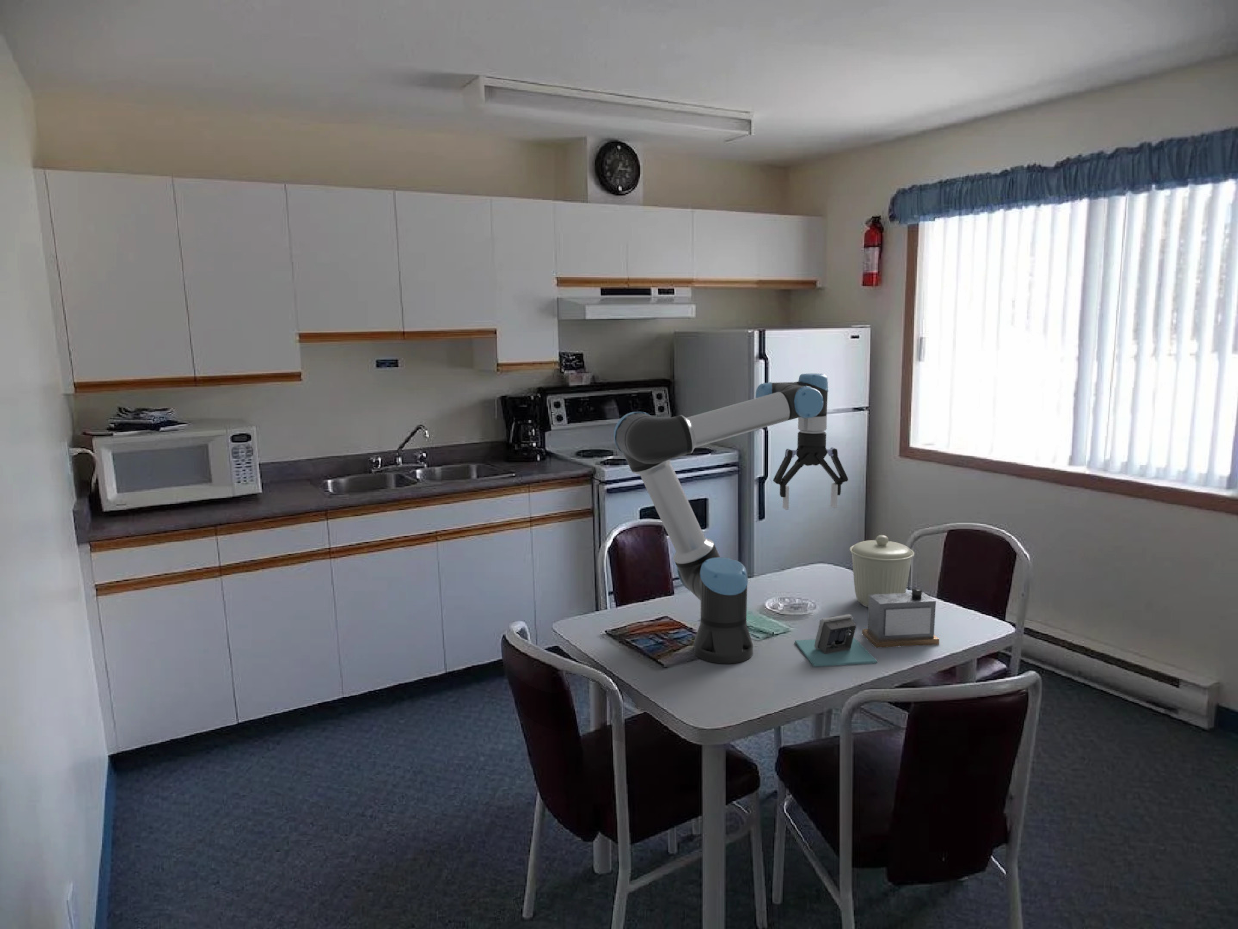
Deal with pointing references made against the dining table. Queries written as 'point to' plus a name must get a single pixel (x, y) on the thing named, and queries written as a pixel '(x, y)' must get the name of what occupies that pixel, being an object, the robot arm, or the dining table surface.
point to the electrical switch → (835, 634)
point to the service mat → (835, 654)
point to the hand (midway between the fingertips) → (809, 507)
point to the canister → (880, 567)
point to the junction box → (901, 619)
